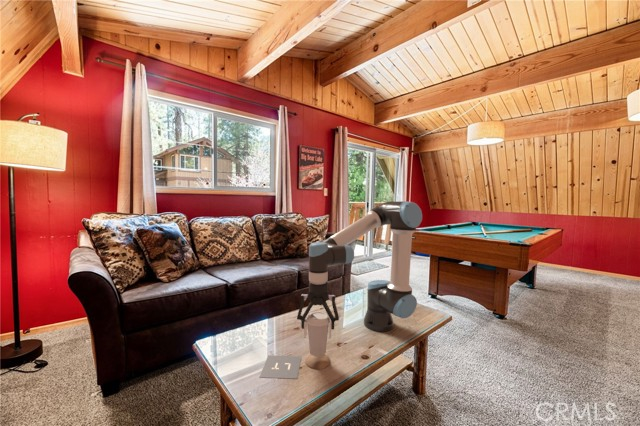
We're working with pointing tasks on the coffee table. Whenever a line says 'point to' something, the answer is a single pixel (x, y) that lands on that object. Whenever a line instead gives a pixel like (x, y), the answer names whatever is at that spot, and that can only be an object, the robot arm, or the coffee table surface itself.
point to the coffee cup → (317, 332)
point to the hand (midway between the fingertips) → (317, 336)
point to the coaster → (317, 361)
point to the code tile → (281, 367)
